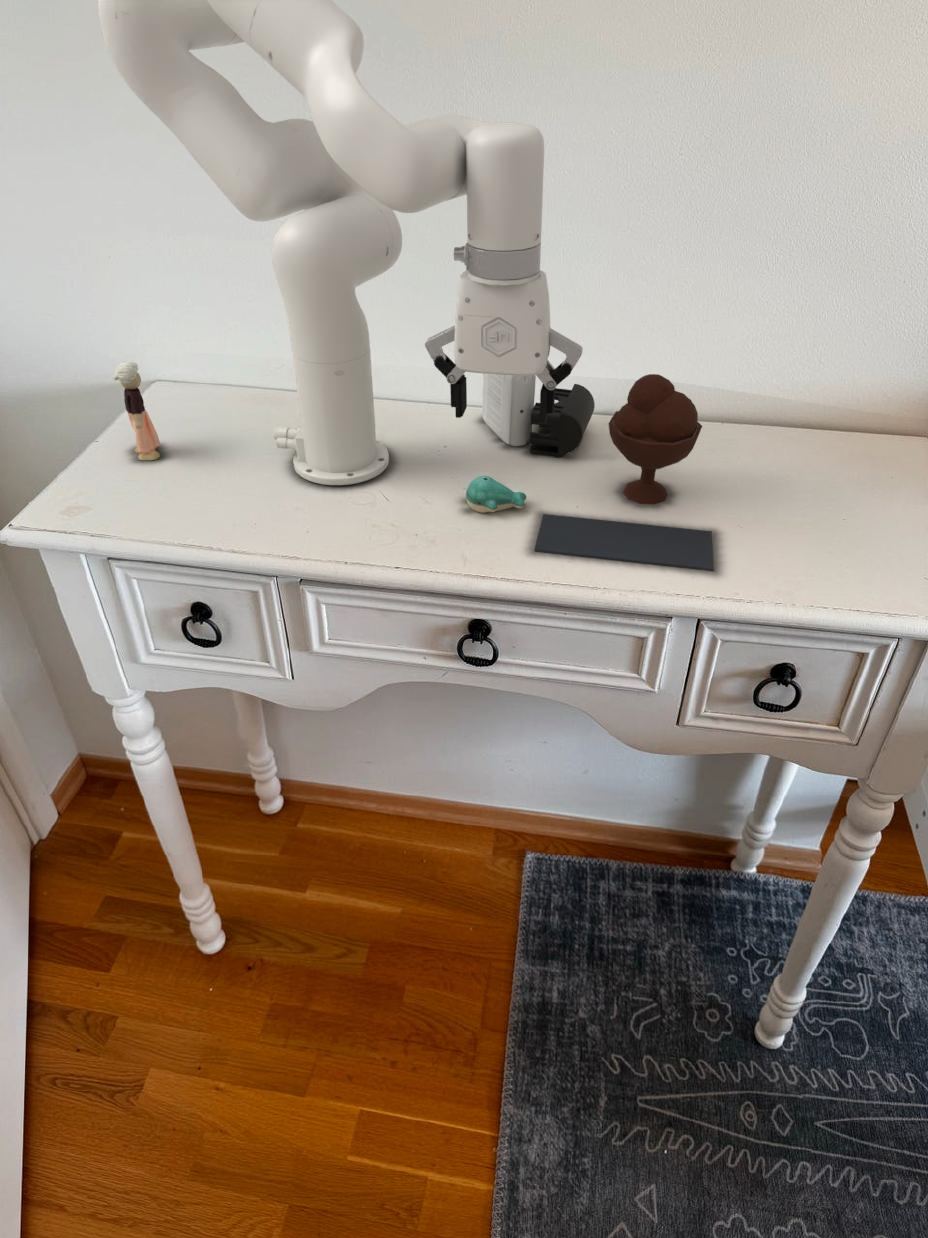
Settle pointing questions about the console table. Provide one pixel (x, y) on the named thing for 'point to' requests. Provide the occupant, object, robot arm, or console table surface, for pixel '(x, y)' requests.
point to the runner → (626, 542)
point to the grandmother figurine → (137, 411)
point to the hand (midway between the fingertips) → (502, 415)
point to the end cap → (562, 422)
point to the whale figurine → (492, 495)
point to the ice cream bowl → (654, 433)
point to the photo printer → (509, 406)
